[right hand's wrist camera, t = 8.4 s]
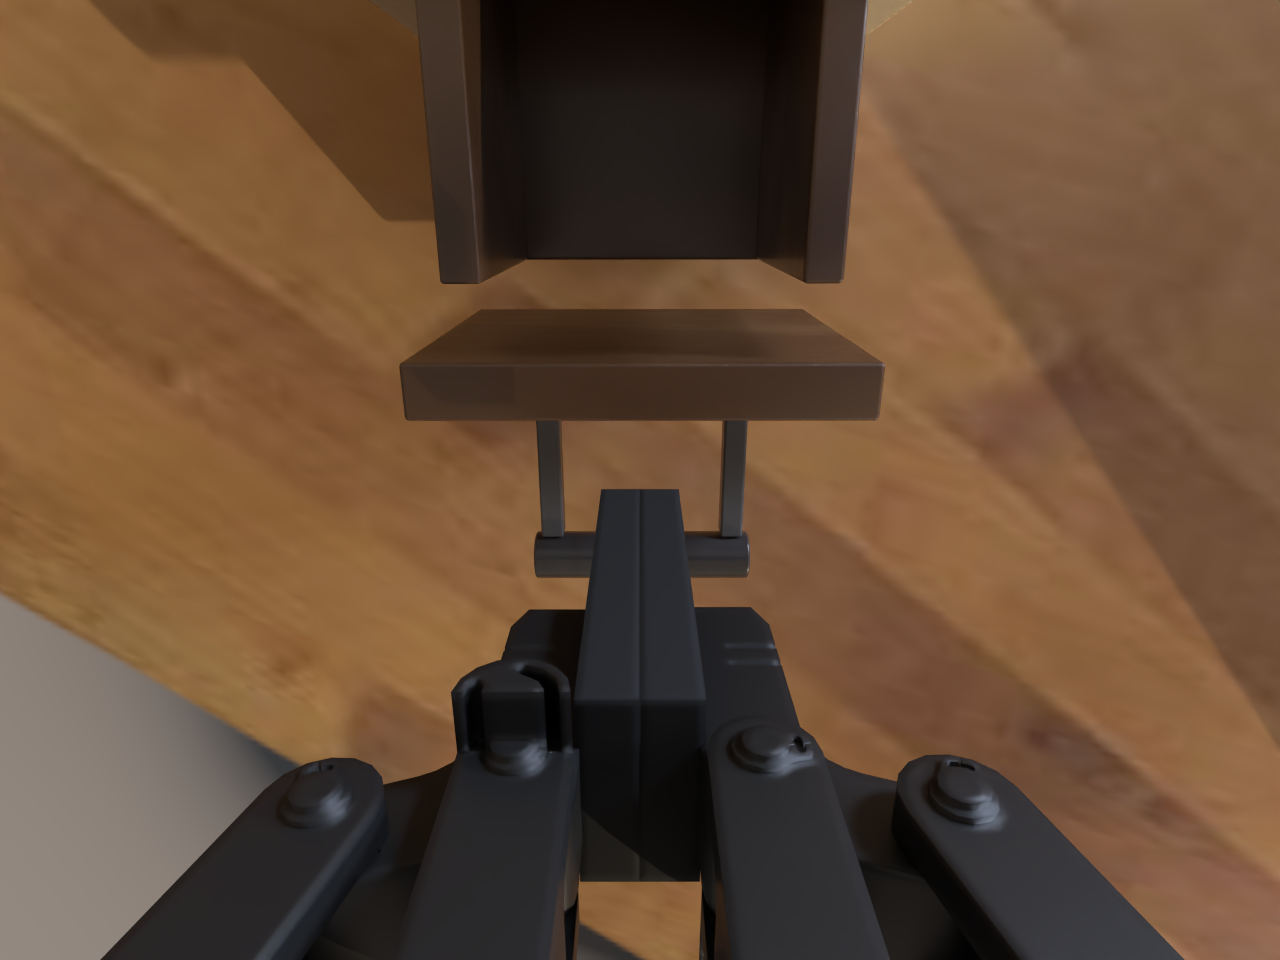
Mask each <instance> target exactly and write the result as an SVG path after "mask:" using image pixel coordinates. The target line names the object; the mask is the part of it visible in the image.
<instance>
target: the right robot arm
mask: <svg viewBox="0 0 1280 960" xmlns="http://www.w3.org/2000/svg"><path fill="white" fill-rule="evenodd" d="M451 696H452V706H453V715H454V725H455V734H456V744H457V756H456V759H455V761H453V762H452V763H450V764H448V765H446V766H444V767H442V768H440V769H438V770H436V771H434V772H430V773H427V774H424V775H421V776H418V777H414V778H410V779H405V780H401V781H397V782H393V783H388V784H384V785H383V780H382V777H381V775H380V774H379V773H378V772H377V771H376V769H375V768H374V767H373V766H372V765H370V764H368V763H365V762H363V761H360V760H357V759H355V758H329V759H324V760H320V761H315V762H311V763H307V764H305V765H303V766H301V767H298V768H296V769H294V770H292V771H290V772H288V773H286V774H284V775H282V776H281V777H280V778H279V779H277V780H276V781H275V782H274V783H272V784H271V785H270V786H269V787H267V788H266V789H265V790H264V791H263V792H262V793H261V794H260V795H259V796H258V797H257V798H256V799H255V800H254V801H253V802H252V803H251V804H250V805H249V806H248V807H247V808H246V809H245V811H243V813H241V815H240V816H239V817H238V818H237V819H236V820H235V821H234V822H233V823H232V824H231V825H230V826H229V827H228V828H227V829H226V830H225V831H224V832H223V833H222V834H221V835H220V836H219V837H218V838H217V839H216V840H215V842H214V843H213V844H212V845H211V846H210V847H209V848H208V849H207V850H206V851H205V852H204V853H203V854H202V855H201V856H200V857H199V858H198V859H197V860H196V861H195V862H194V863H193V864H192V865H191V866H190V867H189V868H188V870H187V871H186V872H185V873H184V874H183V875H182V876H181V877H180V878H179V879H178V880H177V881H176V882H175V883H174V884H173V885H172V886H171V887H170V888H169V889H168V890H167V891H166V892H165V893H164V894H163V895H162V896H161V898H160V899H159V900H158V901H157V902H156V903H155V904H154V905H153V906H152V907H151V908H150V909H149V910H148V911H147V912H146V913H145V914H144V915H143V916H142V917H141V918H140V919H139V920H138V921H137V922H136V923H135V925H134V926H133V927H132V928H131V929H130V930H129V931H128V932H127V933H126V934H125V935H124V936H123V937H122V938H121V939H120V940H119V941H118V942H117V943H116V944H115V945H114V946H113V947H112V948H111V949H110V950H109V952H107V954H106V955H105V956H104V957H103V958H102V959H101V960H576V957H577V945H578V932H579V899H578V886H579V875H580V882H700V871H701V882H702V899H701V925H700V952H699V960H1184V959H1183V958H1182V957H1181V956H1180V955H1179V954H1178V953H1177V952H1176V951H1175V949H1174V948H1173V947H1172V946H1171V945H1170V944H1169V943H1168V942H1167V941H1166V940H1165V939H1164V938H1163V937H1162V936H1161V935H1160V934H1159V933H1158V932H1157V931H1156V930H1155V929H1154V928H1153V927H1152V926H1151V925H1150V924H1149V923H1148V922H1147V921H1146V920H1145V919H1144V918H1143V917H1142V915H1141V914H1140V913H1139V912H1138V911H1137V910H1136V909H1135V908H1134V907H1133V906H1132V905H1131V904H1130V903H1129V902H1128V901H1127V900H1126V899H1125V898H1124V897H1123V896H1122V895H1121V894H1120V893H1119V892H1118V891H1117V890H1116V889H1115V888H1114V887H1113V886H1112V885H1111V884H1110V883H1109V881H1108V880H1107V879H1106V878H1105V877H1104V876H1103V875H1102V874H1101V873H1100V872H1099V871H1098V870H1097V869H1096V868H1095V867H1094V866H1093V865H1092V864H1091V863H1090V862H1089V861H1088V860H1087V859H1086V858H1085V857H1084V856H1083V855H1082V854H1081V853H1080V852H1079V851H1078V850H1077V848H1076V847H1075V846H1074V845H1073V844H1072V843H1071V842H1070V841H1069V840H1068V839H1067V838H1066V837H1065V836H1064V835H1063V834H1062V833H1061V832H1060V831H1059V830H1058V829H1057V828H1056V827H1055V826H1054V825H1053V824H1052V823H1051V822H1050V821H1049V820H1048V819H1047V818H1046V817H1045V816H1044V814H1043V813H1042V812H1041V811H1040V810H1039V809H1038V808H1037V807H1036V806H1035V805H1034V804H1033V803H1032V802H1031V801H1030V800H1029V799H1028V798H1027V797H1026V796H1025V795H1024V794H1023V793H1022V792H1021V791H1020V790H1019V789H1018V788H1017V787H1016V786H1015V785H1014V784H1012V783H1011V782H1010V781H1009V780H1007V779H1006V778H1005V777H1004V776H1002V775H1001V774H1000V773H998V772H997V771H995V770H993V769H991V768H989V767H987V766H985V765H983V764H980V763H978V762H976V761H974V760H970V759H966V758H961V757H957V756H952V755H925V756H923V757H920V758H918V759H915V760H912V761H910V762H908V763H907V764H906V766H905V767H904V768H903V769H902V770H901V772H900V773H899V774H898V780H897V782H896V781H892V780H888V779H883V778H879V777H875V776H871V775H866V774H862V773H859V772H856V771H853V770H850V769H847V768H844V767H842V766H840V765H838V764H836V763H834V762H832V761H830V760H828V759H827V758H825V757H824V755H823V752H822V750H821V748H820V747H819V745H818V744H817V742H816V740H815V739H814V737H813V736H811V735H810V734H809V733H807V732H806V731H805V730H803V729H802V728H801V727H800V725H799V722H798V719H797V715H796V712H795V709H794V705H793V702H792V699H791V695H790V692H789V689H788V686H787V682H786V679H785V676H784V672H783V669H782V666H781V665H780V659H779V656H778V652H777V649H775V643H774V639H773V636H772V633H771V629H770V626H769V624H768V623H767V622H766V621H765V620H764V619H763V618H762V617H761V616H759V615H758V614H757V613H756V612H755V611H754V610H753V609H752V608H751V607H694V602H693V595H692V587H691V580H690V572H689V565H688V557H687V549H686V542H685V534H684V527H683V519H682V512H681V504H680V496H679V489H601V496H600V504H599V512H598V519H597V527H596V534H595V542H594V549H593V557H592V565H591V572H590V580H589V587H588V595H587V602H586V610H528V611H527V612H526V613H525V614H524V615H523V616H522V617H521V618H520V619H519V620H518V621H517V622H516V623H515V624H514V625H513V626H512V627H511V629H510V632H509V636H508V639H507V642H506V646H505V651H504V652H503V656H502V659H501V660H498V661H495V662H492V663H489V664H486V665H483V666H480V667H477V668H476V669H474V670H473V671H471V672H470V673H468V674H467V675H465V676H464V677H462V678H461V679H460V680H459V682H458V683H457V685H456V686H455V687H454V689H453V690H452V692H451Z"/></svg>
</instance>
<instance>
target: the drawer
mask: <svg viewBox="0 0 1280 960" xmlns="http://www.w3.org/2000/svg"><path fill="white" fill-rule="evenodd" d="M868 1H869V0H415V5H416V16H417V27H418V38H419V49H420V60H421V72H422V83H423V94H424V105H425V116H426V127H427V138H428V150H429V161H430V172H431V183H432V194H433V205H434V216H435V228H436V239H437V250H438V261H439V272H440V281H441V283H443V284H479V283H481V282H483V281H485V280H487V279H489V278H491V277H493V276H495V275H497V274H499V273H501V272H503V271H505V270H507V269H509V268H511V267H513V266H515V265H517V264H519V263H521V262H523V261H525V260H662V259H758V260H760V261H762V262H764V263H766V264H769V265H771V266H773V267H775V268H777V269H779V270H781V271H783V272H785V273H787V274H789V275H791V276H793V277H795V278H797V279H799V280H801V281H803V282H805V283H841V282H842V281H843V279H844V269H845V258H846V247H847V236H848V225H849V213H850V202H851V191H852V180H853V169H854V157H855V146H856V135H857V124H858V113H859V101H860V90H861V79H862V68H863V57H864V45H865V34H866V23H867V12H868ZM399 368H400V377H401V386H402V395H403V404H404V413H405V418H406V420H409V421H536V427H537V447H538V467H539V487H540V507H541V527H542V531H539V532H537V534H536V537H535V545H534V568H535V574H536V576H537V577H538V578H590V572H591V565H592V557H593V549H594V542H595V534H596V531H565V505H564V479H563V453H562V427H561V421H723V423H722V449H721V475H720V502H719V531H684V534H685V542H686V549H687V557H688V565H689V572H690V578H746V577H747V576H748V573H749V566H750V546H749V538H748V534H747V532H745V531H742V523H743V503H744V483H745V463H746V442H747V422H748V421H784V420H878V418H879V415H880V406H881V397H882V388H883V379H884V370H885V365H884V363H882V362H881V361H879V360H878V359H876V358H875V357H873V356H872V355H870V354H869V353H867V352H866V351H864V350H863V349H861V348H860V347H858V346H857V345H855V344H854V343H852V342H851V341H849V340H848V339H846V338H845V337H843V336H842V335H840V334H839V333H837V332H836V331H834V330H833V329H831V328H830V327H828V326H827V325H825V324H824V323H822V322H821V321H819V320H818V319H816V318H815V317H813V316H812V315H810V314H809V313H807V312H806V311H804V310H802V309H482V310H480V311H478V312H477V313H475V314H474V315H472V316H471V317H469V318H468V319H466V320H465V321H463V322H462V323H460V324H459V325H457V326H456V327H454V328H453V329H451V330H450V331H448V332H447V333H445V334H444V335H443V336H441V337H440V338H438V339H437V340H435V341H434V342H432V343H431V344H429V345H428V346H426V347H425V348H423V349H422V350H420V351H419V352H417V353H416V354H414V355H413V356H411V357H410V358H408V359H407V360H405V361H404V362H402V363H401V364H400V366H399Z"/></svg>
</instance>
